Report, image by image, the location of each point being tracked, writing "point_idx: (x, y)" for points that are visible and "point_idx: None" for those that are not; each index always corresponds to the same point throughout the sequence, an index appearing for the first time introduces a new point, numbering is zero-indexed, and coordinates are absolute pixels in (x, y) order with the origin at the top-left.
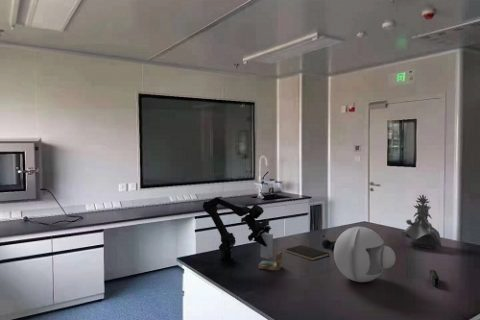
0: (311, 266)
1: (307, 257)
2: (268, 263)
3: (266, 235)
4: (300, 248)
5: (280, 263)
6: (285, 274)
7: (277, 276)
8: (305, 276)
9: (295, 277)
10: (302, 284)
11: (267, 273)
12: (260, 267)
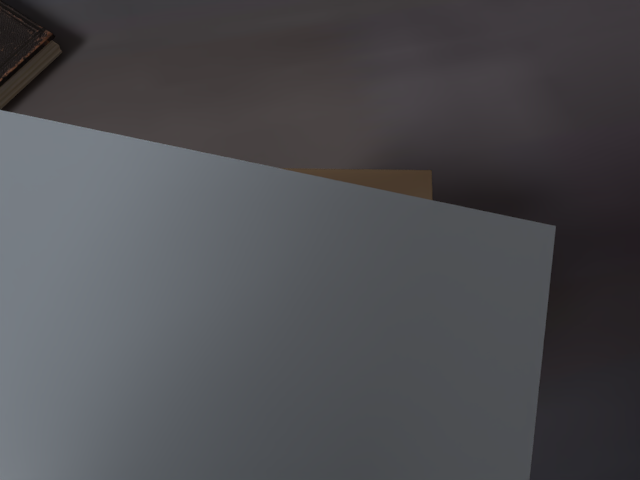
0: (215, 29)
1: (18, 76)
2: None
3: (467, 391)
4: None
5: None
6: (476, 170)
7: (561, 225)
8: (456, 27)
9: (512, 85)
10: (636, 16)
11: None
12: None
